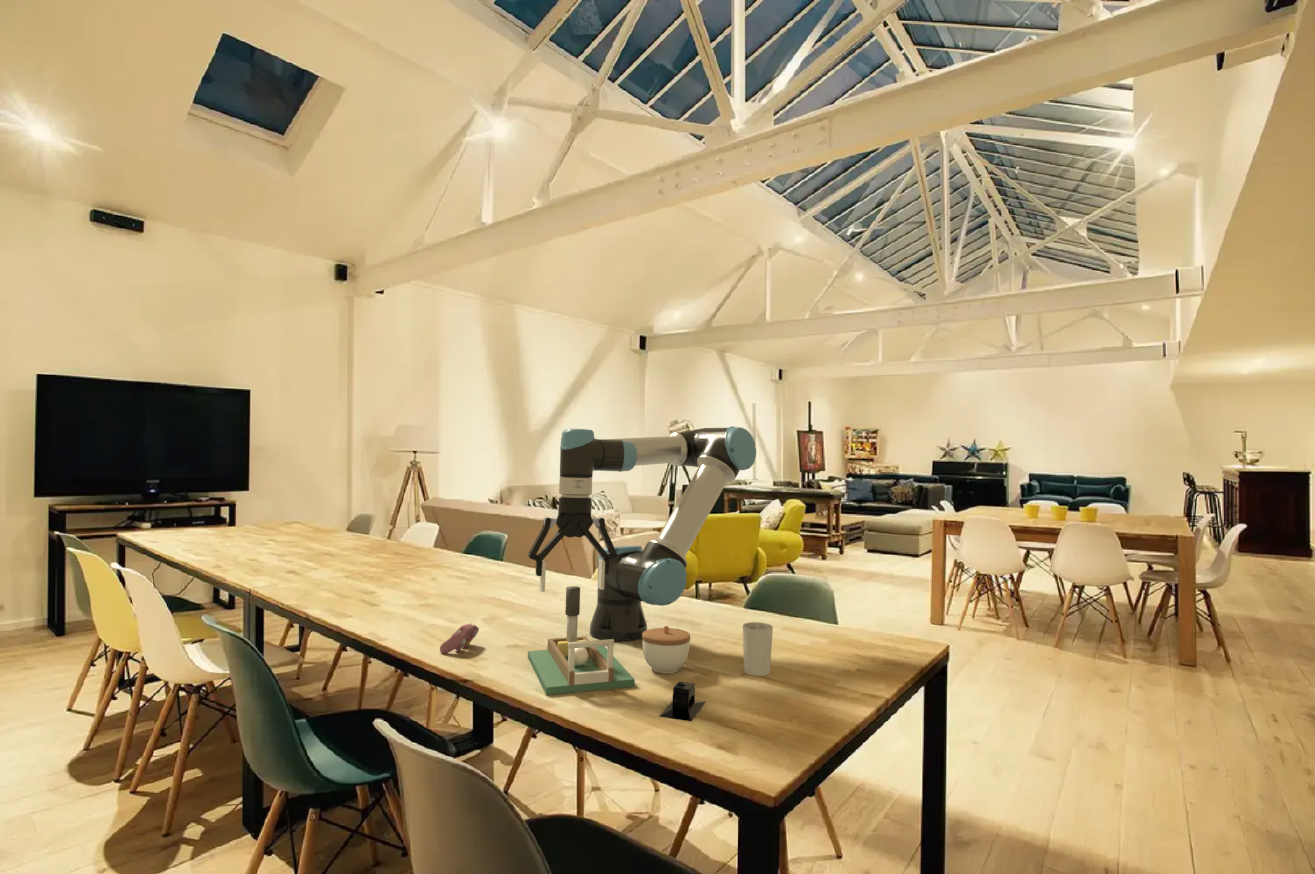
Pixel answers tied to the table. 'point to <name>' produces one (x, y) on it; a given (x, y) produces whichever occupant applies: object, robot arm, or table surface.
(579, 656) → the ball
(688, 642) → the lidded jar
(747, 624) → the drinking glass
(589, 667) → the pitch
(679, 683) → the black arch on base
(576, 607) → the striker
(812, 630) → the table surface
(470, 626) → the pink toy animal
